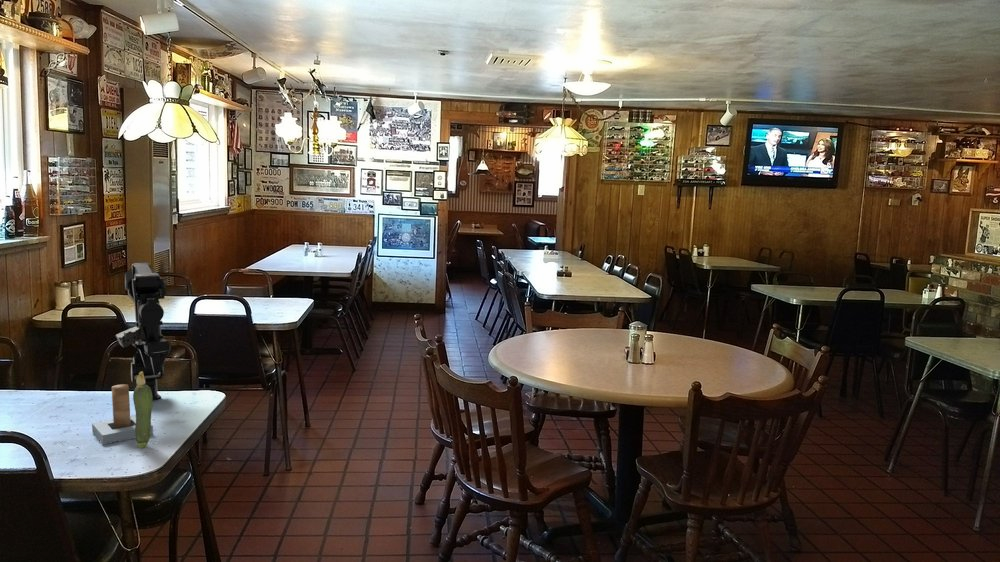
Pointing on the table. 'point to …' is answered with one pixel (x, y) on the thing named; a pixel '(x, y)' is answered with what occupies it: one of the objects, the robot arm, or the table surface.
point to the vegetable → (142, 411)
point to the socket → (114, 431)
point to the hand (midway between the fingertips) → (151, 370)
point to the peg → (121, 406)
